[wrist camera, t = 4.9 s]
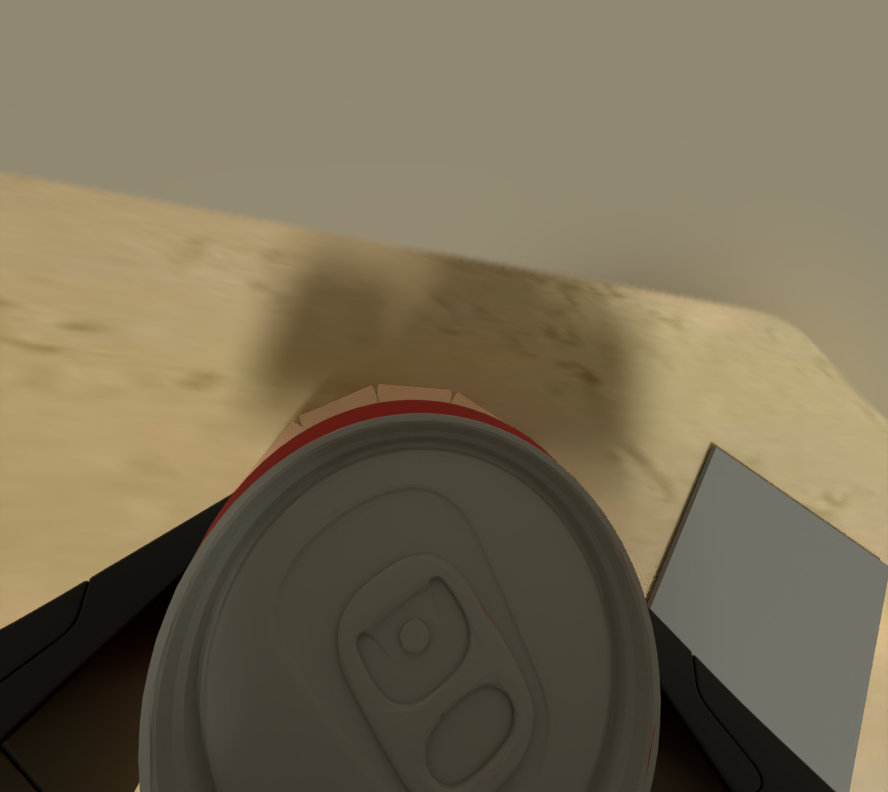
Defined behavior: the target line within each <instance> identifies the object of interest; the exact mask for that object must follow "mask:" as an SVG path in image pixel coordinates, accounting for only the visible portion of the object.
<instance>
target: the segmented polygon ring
mask: <svg viewBox="0 0 888 792" xmlns="http://www.w3.org/2000/svg"><path fill="white" fill-rule="evenodd" d="M451 394H452V390H451V389H438V388H426V387H414V386H401V385H389V384H378V390H377V394H376V392H375V390H374V388H373V386H372V385H370V386H368V387H365V388H363V389H361V390H358V391H356V392H354V393H351V394H349V395H347V396H344V397H342V398H340V399H337V400H335V401H333V402H330V403H328V404H326V405H323V406H321V407H319V408H316V409H314V410H312V411H309V412H307V413H305V414H302V415H300V416H299V419H300V421H301V423H302V426H303V427H302V426H300V425H299V424H297V423H296V422H294V421H292V422H291V423H290V424H289V425H288V427H287V428H286V429H285V430H284V431H283V433H282V434H281V435H280V436H279V437H278V439H277V440H276V441H275V442H274V443H273V445H272V446H271V447H270V448H269V449H268V451H267V452H266V453H265V454H264V455H263V457H262V458H261V459H260V460H259V461H258V463H257V464H256V465H255V466H254V467H253V469H252V470H251V471H250V472H249V473H248V475H247V476H246V477H245V478H244V479H243V481H244V480H245V479H246V478H247V477H248V476H249V475H250V474H251V473H252V472H253V471H254V470H255V469H256V468H257V467H258V466H259V465H260V464H261V463H262V462H263V461H264V460H265V459H266V458H268V457H269V456H270V455H271V454H272V453H274V452H275V451H276V450H277V449H278V448H280V447H281V446H282V445H284V444H285V443H287V442H288V441H289V440H291V439H292V438H293V437H295V436H297V435H298V434H300V433H302V432H303V431H305V430H306V429H308V428H310V427H312V426H314V425H316V424H318V423H319V422H321V421H323V420H325V419H328V418H330V417H333V416H335V415H337V414H340V413H342V412H345V411H348V410H351V409H355V408H358V407H362V406H366V405H370V404H374V403H380V402H387V401H396V400H430V401H440V402H446V403H451V404H456V405H460V406H464V407H467V408H471V409H474V410H477V411H479V412H482V413H485V414H487V415H490V416H492V417H494V418H496V419H498V420H500V421H502V420H501V419H499V418H498V417H496V416H495V415H493V414H492V413H490V412H488V411H487V410H485V409H484V408H482V407H481V406H479V405H478V404H476V403H475V402H473V401H471V400H470V399H468V398H467V397H465V396H464V395H462V394H461V393H459V392H457V393H456V395H455V396H454V398H453V399H452V401H451ZM502 422H504V421H502ZM504 423H506V422H504ZM506 424H507V423H506ZM508 425H509V424H508ZM511 427H512V426H511ZM243 481H242V482H243ZM242 482H241V483H240V484H239V485H238V487H239V486H240V485H241V484H242ZM238 487H237V488H238ZM237 488H236V489H237ZM236 489H235V490H236Z"/></svg>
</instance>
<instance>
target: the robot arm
mask: <svg viewBox="0 0 888 792" xmlns="http://www.w3.org/2000/svg"><path fill="white" fill-rule="evenodd" d="M231 495H232V494H231ZM231 495H229V496H228V497H226V498H224V499H222V500H221V501H219V502H217V503H216V504H214V505H212V506H211V507H209V508H207V509H206V510H204V511H202V512H201V513H199V514H197V515H195V516H194V517H192V518H190V519H189V520H187V521H185V522H184V523H182V524H180V525H179V526H177V527H175V528H174V529H172V530H170V531H168V532H167V533H165V534H163V535H162V536H160V537H158V538H157V539H155V540H153V541H152V542H150V543H148V544H147V545H145V546H143V547H141V548H140V549H138V550H136V551H135V552H133V553H131V554H130V555H128V556H126V557H125V558H123V559H121V560H120V561H118V562H116V563H114V564H113V565H111V566H109V567H108V568H106V569H104V570H103V571H101V572H99V573H98V574H96V575H94V576H93V577H91V578H90V580H89V581H84V582H82V583H80V584H79V585H77V586H75V587H74V588H72V589H70V590H69V591H67V592H65V593H64V594H62V595H60V596H59V597H57V598H55V599H53V600H52V601H50V602H48V603H46V604H45V605H43V606H41V607H39V608H38V609H36V610H34V611H32V612H31V613H29V614H27V615H25V616H24V617H22V618H20V619H18V620H17V621H15V622H13V623H11V624H9V625H7V626H6V627H4V628H2V629H0V792H134V791H135V789H136V788H137V786H138V784H139V763H138V754H139V731H140V719H141V709H142V699H143V694H144V689H145V684H146V679H147V674H148V670H149V665H150V661H151V657H152V653H153V650H154V646H155V642H156V639H157V636H158V633H159V631H160V628H161V625H162V622H163V620H164V617H165V614H166V612H167V609H168V607H169V605H170V602H171V600H172V597H173V595H174V593H175V590H176V588H177V586H178V584H179V582H180V580H181V579H182V577H183V575H184V573H185V571H186V569H187V568H188V566H189V564H190V562H191V561H192V559H193V557H194V556H195V554H196V552H197V550H198V548H199V546H200V544H201V542H202V540H203V538H204V537H205V535H206V533H207V531H208V529H209V528H210V526H211V524H212V523H213V521H214V520H215V518H216V517H217V515H218V513H219V512H220V510H221V509H222V508H223V506H224V505H225V504H226V502H227V501H228V500H229V498H230V497H231ZM647 607H648V606H647ZM648 611H649V615H650V619H651V623H652V627H653V632H654V638H655V643H656V649H657V657H658V666H659V677H660V698H661V706H660V729H659V742H658V753H657V759H656V765H655V771H654V777H653V781H652V786H651V790H650V792H836V791H835V790H833V789H832V788H831V787H830V786H829V785H828V784H827V783H826V782H825V781H824V780H823V779H822V778H821V777H820V776H819V775H818V774H816V773H815V772H814V771H813V770H812V769H811V768H810V767H809V766H808V765H807V764H806V763H805V762H804V761H803V760H802V759H800V758H799V757H798V756H797V755H796V754H795V753H794V752H793V751H792V750H791V749H790V748H789V747H788V746H787V745H786V744H785V743H783V742H782V741H781V740H780V739H779V738H778V737H777V736H776V735H775V734H774V733H773V732H772V731H771V730H770V729H769V728H768V727H767V726H766V725H765V724H763V723H762V722H761V721H760V720H759V719H758V718H757V717H756V716H755V715H754V714H753V713H752V712H751V711H750V710H749V709H748V708H747V707H746V706H745V705H744V704H743V703H742V702H741V701H740V700H739V699H738V698H737V697H736V696H735V695H734V694H733V693H732V692H731V691H730V690H729V689H728V688H727V687H726V686H725V685H724V684H723V683H722V682H721V681H720V680H719V679H718V678H717V677H716V676H715V675H714V674H713V673H712V672H711V671H710V670H709V669H708V668H707V667H706V666H705V665H704V664H703V663H702V662H701V661H700V660H699V659H698V658H697V656H695V655H692V652H691V650H690V649H689V648H688V647H687V646H686V645H685V644H684V643H683V642H682V641H681V640H680V639H679V638H678V637H677V636H676V635H675V634H674V633H673V632H672V631H671V630H670V629H669V628H668V627H667V625H666V624H665V623H664V622H663V621H662V620H661V619H660V618H659V617H658V616H657V615H656V614H655V613H654V612H653V611H652V610H651V609H650V608H649V607H648Z"/></svg>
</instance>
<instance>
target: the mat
mask: <svg viewBox="0 0 888 792" xmlns="http://www.w3.org/2000/svg"><path fill="white" fill-rule="evenodd" d="M887 581H888V565H886V564H885V563H883V562H882V561H880V560H879V559H877V558H876V557H875V556H873V555H872V554H870V553H869V552H867V551H866V550H864V549H863V548H862V547H860V546H859V545H857V544H856V543H854V542H853V541H851V540H850V539H849V538H847V537H846V536H844V535H843V534H841V533H840V532H838V531H837V530H836V529H834V528H833V527H831V526H830V525H828V524H827V523H825V522H824V521H823V520H821V519H820V518H818V517H817V516H815V515H814V514H812V513H811V512H810V511H808V510H807V509H805V508H804V507H802V506H801V505H799V504H798V503H797V502H795V501H794V500H792V499H791V498H789V497H788V496H786V495H785V494H784V493H782V492H781V491H779V490H778V489H776V488H775V487H773V486H772V485H771V484H769V483H768V482H766V481H765V480H763V479H762V478H760V477H759V476H758V475H756V474H755V473H753V472H752V471H750V470H749V469H747V468H746V467H745V466H743V465H742V464H740V463H739V462H737V461H736V460H734V459H733V458H732V457H730V456H729V455H727V454H726V453H724V452H723V451H721V450H720V449H719V448H717V447H714V448H711V450H710V453H709V455H708V458H707V460H706V462H705V465H704V467H703V470H702V472H701V474H700V477H699V479H698V482H697V484H696V487H695V489H694V491H693V494H692V496H691V499H690V501H689V503H688V506H687V508H686V511H685V513H684V516H683V518H682V520H681V523H680V525H679V528H678V530H677V532H676V535H675V537H674V540H673V542H672V545H671V547H670V549H669V552H668V554H667V557H666V559H665V561H664V564H663V566H662V569H661V571H660V573H659V576H658V578H657V581H656V583H655V586H654V588H653V590H652V593H651V595H650V598H649V600H648V602H647V606H648V607H649V608H650V609H651V610H652V611H653V612H654V613H655V614H656V615H657V616H658V617H659V618H660V619H661V620H662V621H663V622H664V623H665V624H666V625H667V627H668V628H669V629H670V630H671V631H672V632H673V633H674V634H675V635H676V636H677V637H678V638H679V639H680V640H681V641H682V642H683V643H684V644H685V645H686V646H687V647H688V648H689V649H690V650H691V652H692V655H695V656H697V658H698V659H699V660H700V661H701V662H702V663H703V664H704V665H705V666H706V667H707V668H708V669H709V670H710V671H711V672H712V673H713V674H714V675H715V676H716V677H717V678H718V679H719V680H720V681H721V682H722V683H723V684H724V685H725V686H726V687H727V688H728V689H729V690H730V691H731V692H732V693H733V694H734V695H735V696H736V697H737V698H738V699H739V700H740V701H741V702H742V703H743V704H744V705H745V706H746V707H747V708H748V709H749V710H750V711H751V712H752V713H753V714H754V715H755V716H756V717H757V718H758V719H759V720H760V721H761V722H762V723H763V724H765V725H766V726H767V727H768V728H769V729H770V730H771V731H772V732H773V733H774V734H775V735H776V736H777V737H778V738H779V739H780V740H781V741H782V742H783V743H785V744H786V745H787V746H788V747H789V748H790V749H791V750H792V751H793V752H794V753H795V754H796V755H797V756H798V757H799V758H800V759H802V760H803V761H804V762H805V763H806V764H807V765H808V766H809V767H810V768H811V769H812V770H813V771H814V772H815V773H816V774H818V775H819V776H820V777H821V778H822V779H823V780H824V781H825V782H826V783H827V784H828V785H829V786H830V787H831V788H832V789H833V790H835V791H836V792H849V790H850V784H851V779H852V773H853V768H854V762H855V757H856V751H857V746H858V740H859V735H860V729H861V724H862V718H863V713H864V707H865V702H866V696H867V691H868V685H869V680H870V674H871V669H872V663H873V658H874V652H875V647H876V641H877V636H878V630H879V625H880V619H881V614H882V608H883V603H884V597H885V592H886V586H887Z"/></svg>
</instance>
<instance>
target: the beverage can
mask: <svg viewBox="0 0 888 792" xmlns="http://www.w3.org/2000/svg"><path fill="white" fill-rule="evenodd" d="M660 706H661V698H660V677H659V666H658V657H657V649H656V643H655V638H654V632H653V627H652V623H651V619H650V615H649V611H648V607H647V604H646V600H645V597H644V594H643V591H642V588H641V585H640V581H639V579H638V577H637V574H636V572H635V569H634V567H633V564H632V562H631V560H630V558H629V556H628V554H627V552H626V550H625V547H624V545H623V543H622V541H621V540H620V538H619V536H618V535H617V533H616V531H615V530H614V528H613V526H612V525H611V523H610V522H609V520H608V519H607V517H606V516H605V514H604V513H603V511H602V510H601V508H600V507H599V506H598V504H597V503H596V502H595V501H594V500H593V498H592V497H591V496H590V495H589V494H588V492H587V491H586V490H585V489H584V488H583V487H582V486H581V485H580V483H579V482H578V481H577V480H576V479H575V478H574V477H573V476H572V475H571V474H569V473H568V472H567V471H566V470H565V469H564V468H563V467H562V466H560V465H559V464H558V463H557V462H556V461H555V460H554V459H553V458H552V457H551V456H550V455H549V454H548V453H547V452H546V451H545V450H544V449H543V448H541V447H540V446H539V445H537V444H536V443H535V442H534V441H532V440H531V439H530V438H529V437H527V436H526V435H524V434H523V433H521V432H520V431H518V430H517V429H515V428H513V427H511V426H510V425H508V424H506V423H504V422H502V421H500V420H498V419H496V418H494V417H492V416H490V415H487V414H485V413H482V412H479V411H477V410H474V409H471V408H467V407H464V406H460V405H456V404H451V403H446V402H440V401H430V400H396V401H387V402H380V403H374V404H370V405H366V406H362V407H358V408H355V409H351V410H348V411H345V412H342V413H340V414H337V415H335V416H333V417H330V418H328V419H325V420H323V421H321V422H319V423H318V424H316V425H314V426H312V427H310V428H308V429H306V430H305V431H303V432H302V433H300V434H298V435H297V436H295V437H293V438H292V439H291V440H289V441H288V442H287V443H285V444H284V445H282V446H281V447H280V448H278V449H277V450H276V451H275V452H274V453H272V454H271V455H270V456H269V457H268V458H266V459H265V460H264V461H263V462H262V463H261V464H260V465H259V466H258V467H257V468H256V469H255V470H254V471H253V472H252V473H251V474H250V475H249V476H248V477H247V478H246V479H245V480H244V481H243V482H242V484H241V485H240V486H239V487H238V488H237V489H236V491H235V492H234V493H233V494H232V495H231V497H230V498H229V500H228V501H227V502H226V504H225V505H224V506H223V508H222V509H221V510H220V512H219V513H218V515H217V517H216V518H215V520H214V521H213V523H212V524H211V526H210V528H209V529H208V531H207V533H206V535H205V537H204V538H203V540H202V542H201V544H200V546H199V548H198V550H197V552H196V554H195V556H194V557H193V559H192V561H191V562H190V564H189V566H188V568H187V569H186V571H185V573H184V575H183V577H182V579H181V580H180V582H179V584H178V586H177V588H176V590H175V593H174V595H173V597H172V600H171V602H170V605H169V607H168V609H167V612H166V614H165V617H164V620H163V622H162V625H161V628H160V631H159V633H158V636H157V639H156V642H155V646H154V650H153V653H152V657H151V661H150V665H149V670H148V674H147V679H146V684H145V689H144V694H143V699H142V709H141V719H140V731H139V754H138V763H139V783H140V792H650V790H651V786H652V781H653V777H654V771H655V765H656V759H657V753H658V742H659V729H660Z"/></svg>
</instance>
